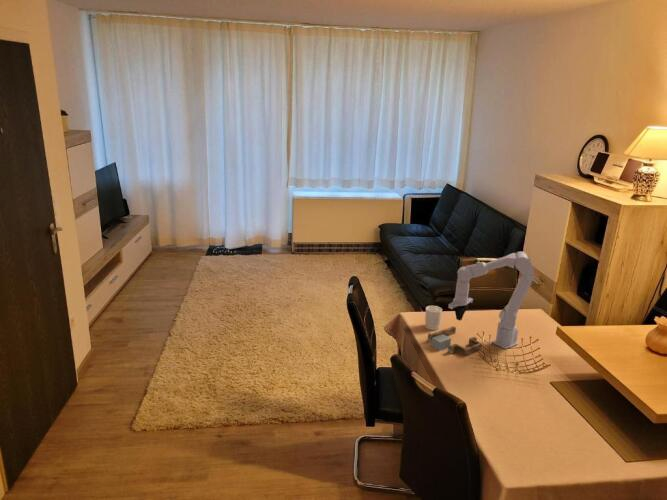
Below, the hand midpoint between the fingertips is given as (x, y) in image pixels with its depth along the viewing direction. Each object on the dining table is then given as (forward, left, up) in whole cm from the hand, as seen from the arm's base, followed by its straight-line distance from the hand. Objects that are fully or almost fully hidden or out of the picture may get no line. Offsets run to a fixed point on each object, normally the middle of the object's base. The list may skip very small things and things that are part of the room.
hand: (458, 319), depth 232 cm
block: (+13, +2, -10) cm, 16 cm away
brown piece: (+6, +4, -9) cm, 12 cm away
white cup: (+2, -14, -10) cm, 17 cm away
